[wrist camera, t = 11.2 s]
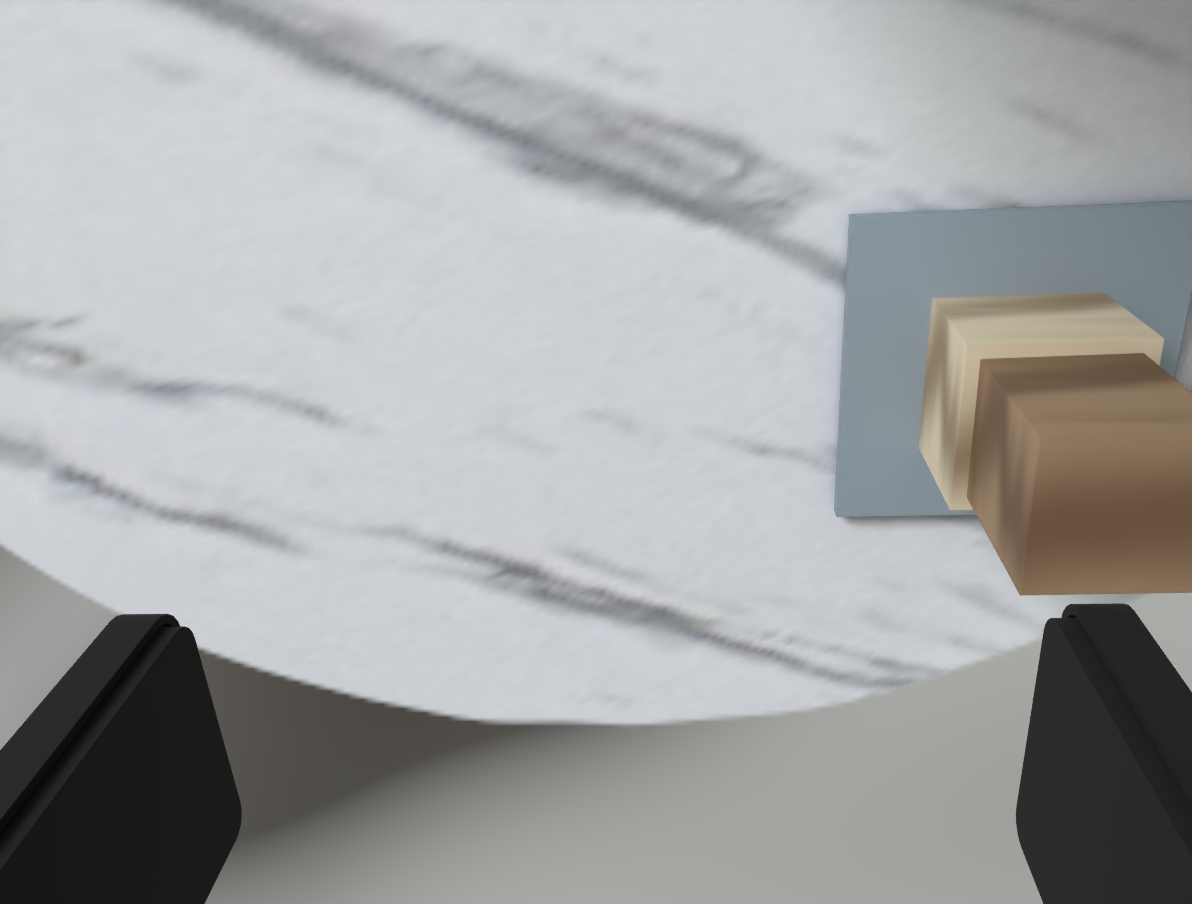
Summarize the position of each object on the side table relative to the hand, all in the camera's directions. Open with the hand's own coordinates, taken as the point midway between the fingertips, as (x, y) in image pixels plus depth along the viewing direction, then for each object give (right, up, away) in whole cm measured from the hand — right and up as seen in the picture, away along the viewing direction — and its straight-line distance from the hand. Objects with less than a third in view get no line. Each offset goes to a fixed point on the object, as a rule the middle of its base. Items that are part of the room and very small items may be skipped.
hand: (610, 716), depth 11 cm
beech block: (+15, +6, +27) cm, 31 cm away
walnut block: (+15, +4, +22) cm, 27 cm away
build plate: (+15, +6, +27) cm, 32 cm away
